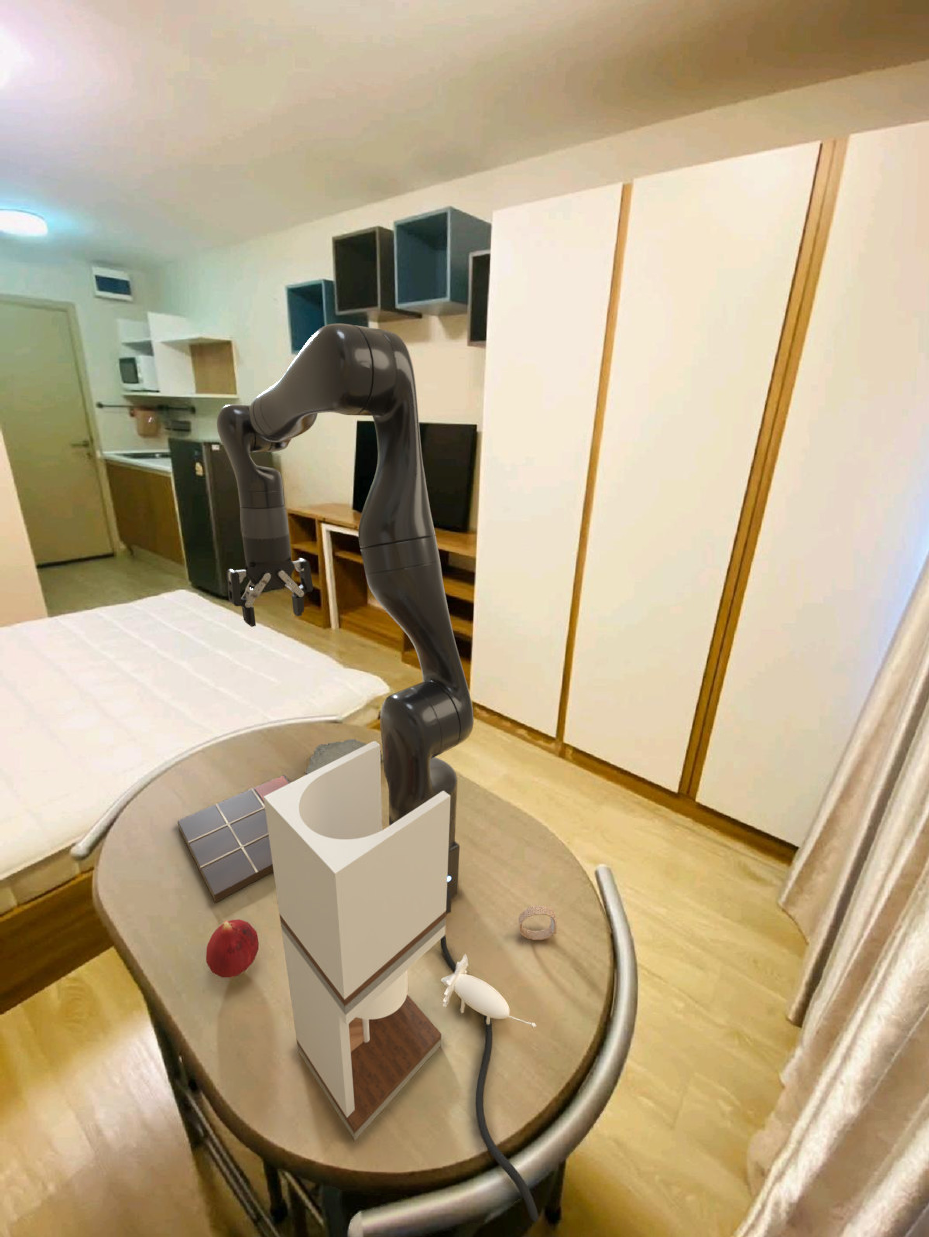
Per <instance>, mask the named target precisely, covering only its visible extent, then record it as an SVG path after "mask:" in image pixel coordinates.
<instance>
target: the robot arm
mask: <svg viewBox="0 0 929 1237" xmlns="http://www.w3.org/2000/svg"><path fill="white" fill-rule="evenodd" d="M321 413H323V414H324V413H336V414H339V415H344V416H345V415H346V416H361V417H363V416H364V417H365V416H368V417H369V416H370V417H372V419H373V424H374V427H375V433H376V434H375V435H376V442H377V443H376V444H377V464H376V470H375V474H374V476H373V477H374V478H373V481H372V483H371V485H370V489H369V491H368V494H367V497H366V500H365V503H364V505H363V508H362V511H361V516H360V519H359V524H358V531H357V535H358V544H359V548H360V554H361V559H362V564H363V569H364V573H365V578H366V582H367V585H368V589H369V590H370V592H371V594H372V595H373V597H374V598H375V600H376V601H377V602H378V603H379V605H381V607H382V608H383V610H384V611H385V612H386V613H387V614H388V615H389V616H390V617H391V618H392V620H393V621H394V622H395V623H396V624H397V625H398V626H399V627H400V629H402V631H403V632H404V633H405V634H406V635H407V637H408V638H409V640H410V642H411V643H412V645H413V647H414V650H415V653H416V655H417V658H418V662H419V666H420V669H421V670H420V671H421V675H422V682H419V683H417V684H414V685H412V686H409V687H406V688H404V689H401V690H399V691H396V692H394V693H392V694H390V695H388V696H387V697H386V698H385V699H384V701H383V702H382V704H381V708H380V713H379V714H380V715H379V725H380V726H379V728H380V738H381V749H382V764H383V771H384V775H385V776H384V777H385V780H386V784H387V788H388V827H389V826H390V825H392V824H393V823H395V822H396V821H398V820H399V819H401V818H402V817H404V816H405V815H407V814H408V813H410V812H411V811H413V810H414V809H416V808H417V807H419V806H421V805H422V804H424V803H425V802H427V801H428V800H430V799H431V798H433V797H434V796H436V795H437V794H439V793H440V792H442V791H445V792H446V793H447V794H449V795H450V821H449V847H448V873H447V899H446V915H447V914H451V913H452V899H453V898H454V897H457V895H458V889H459V868H460V866H459V865H460V850H461V848H460V844H459V843H458V842H456V824H457V823H456V822H457V804H458V786H459V785H458V783H459V781H458V776H457V772H456V771H455V769H454V768H453V767H452V766H451V764H449V763H448V762H446V761H445V760H443V759H441V758H439V757H437V756H440V755H442V754H443V753H445V752H447V751H449V750H451V749H454V748H456V747H457V746H458V745H460V744H462V743H464V742H466V740H467V739H468V738H470V735H472V733H473V728H474V708H473V702H472V698H471V693H470V690H469V686H468V682H467V680H466V676H465V671H464V669H463V665H462V664H463V663H462V661H461V657H460V654H459V649H458V647H457V644H456V639H455V635H454V631H453V626H452V621H451V616H450V612H449V611H450V610H449V608H448V607H449V606H448V602H447V596H446V592H445V586H444V579H443V571H442V565H441V564H442V563H441V559H440V558H441V557H440V552H439V547H438V540H437V536H436V531H435V527H434V522H433V517H432V512H431V507H430V501H429V500H430V499H429V494H428V489H427V487H428V486H427V481H426V474H425V468H424V461H423V452H422V443H421V431H420V420H419V407H418V396H417V384H416V376H415V371H414V364H413V361H412V357H411V354H410V351H409V348H408V346H407V345H406V343H405V340H403V338H401V337H400V336H399V335H398V334H397V333H395V332H393V331H389V330H386V329H380V328H374V327H369V326H361V325H356V324H355V325H354V324H349V323H330V324H326V325H324V326H322V327H320V328H319V329H318V330H316V331H315V332H314V334H312V335H311V337H310V338H309V339H308V340H307V341H306V343H305V344H304V345H303V347H302V348H301V350H300V351H299V353H298V354H297V355H296V357H295V358H294V359H293V361H292V362H291V363H290V365H289V367H288V368H287V369H286V371H285V373H284V374H283V375H282V376H281V377H280V379H279V380H278V381H277V382H276V383H274V384H273V385H272V386H270V387H268V388H267V389H266V390H264V391H263V392H261V393H259V394H258V396H256V397H255V398H254V399H253V400H252V402H251V404H225V406H223V407H222V408H220V410H219V412H218V414H217V418H216V429H217V433H218V436H219V439H220V442H221V443H222V446H223V448H224V450H225V453H226V455H227V457H228V460H229V462H230V465H231V468H232V471H233V474H234V476H235V481H236V485H237V487H236V488H237V493H238V500H239V515H240V516H239V517H240V518H239V520H240V533H241V538H242V546H243V553H244V560H245V566H244V569H236V570H235V569H233V568H229V569H227V571H226V579H227V591H228V601H229V602H230V603H231V604H232V605H233V606H235V607H241V612H242V616H243V617H242V619H243V621H244V622H245V623H246V625H248V626H249V627H251V628H253V627H256V626H257V624H256V622H257V621H256V616H255V614H256V613H255V608H254V606H253V605H254V603H255V601H256V599H257V598H259V597H260V596H261V594H262V592H264V591H265V592H270V591H272V590H274V589H275V590H276V589H277V590H278V589H284V586H285V587H286V588H288V589H289V590H290V591H291V592H292V593H293V594H291V601H292V603H291V604H292V612H293V614H294V616H296V617H301V616H302V615H303V613H304V611H305V603H304V601H305V600H304V597H305V596H304V595H305V594H307V593H308V592H309V593H311V592H313V590H314V584H313V579H312V577H313V576H312V572H311V565H310V562H309V560H307V559H305V558H303V557H299V558H298V559H297V560H294V561H292V551H291V549H292V548H291V540H290V529H289V520H288V514H287V510H286V504H285V494H284V492H285V491H284V482H283V478H282V474H281V472H280V471H279V470H277V469H276V468H274V467H268V466H262V465H257V464H256V463H255V462H254V460H253V458H252V457H251V453H273V452H274V453H275V452H279V451H283V450H285V449H287V447H288V446H289V445H290V442H291V441H292V439H294V438H297V437H299V436H301V435H303V434H305V433H306V432H307V431H309V430H310V429H311V428H312V427H313V426H314V424H315V422H316V420H317V418H318V414H321ZM295 570H296V571H297V572H298V574H299V580H300V585H298V584H297V583H296V582H295V581H294V580H293V579H292V578H291V576H292V574H293V572H294V571H295ZM245 577H246V578H247V579H248V580H249V582H248V583H247V585H246V586H245V590H244V593H243V594H241V584H242V583H243V581H244V579H245ZM439 942H440V949H441V952H442V955H443V958H444V960H445V961H446V963H447V965H448V966H449V968H450V970H451V971H452V972H453V974H454V973H455V970H456V965H457V963H455V961H454V959H453V958H452V956H451V954H450V951H449V950H448V944H447V935H446V934H445V935H444V936H443V937H442V938H441V939H440V940H439ZM481 1015H482V1017H483V1023H484V1031H485V1037H484V1038H485V1039H484V1048H483V1053H482V1058H481V1062H480V1067H479V1072H478V1076H477V1083H476V1089H475V1115H476V1121H477V1126H478V1130H479V1133H480V1136H481V1139H482V1141H483V1144H484V1145H485V1147H486V1148H487V1150H488V1152H489V1154H490V1155H491V1156H492V1157H493V1159H494V1160H495V1162H497V1164H498V1165H499V1166H500V1167H501V1168H502V1170H503V1171H504V1172H505V1173H506V1175H508V1177H509V1178H510V1179H511V1180H512V1182H513V1183H514V1184H515V1186H516V1188H517V1189H518V1191H519V1193H520V1195H521V1196H522V1198H523V1201H524V1203H525V1206H526V1209H527V1212H528V1215H529V1218H530V1219H531V1220H532V1222H535V1223H536V1222H538V1220H539V1213H538V1209H537V1206H536V1203H535V1200H534V1197H533V1195H532V1193H531V1191H530V1189H529V1186H528V1185H527V1182H525V1179H524V1178H523V1176H522V1175H521V1173H519V1171H518V1170H517V1168H515V1166H514V1165H513V1164H512V1163H511V1161H510V1160H509V1159H507V1157H506V1156H505V1155H504V1154H503V1152H502V1151H501V1150H500V1149H499V1148H498V1146H497V1145H496V1143H495V1142H494V1139H493V1138H492V1136H491V1134H490V1132H489V1129H488V1126H487V1122H486V1117H485V1110H484V1092H485V1084H486V1079H487V1073H488V1068H489V1064H490V1059H491V1055H492V1054H491V1053H492V1047H493V1024H492V1020H491V1019H492V1018H490V1024H489V1025H487V1024H486V1020H487V1016H485V1015H483V1014H481Z"/></svg>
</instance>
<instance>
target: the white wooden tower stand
mask: <svg viewBox="0 0 929 1237" xmlns="http://www.w3.org/2000/svg"><path fill="white" fill-rule="evenodd" d="M366 744H367V745H365V746H363V747H361V748H359V749H357V750H355V751H353V752H351V753H349V754H347V755H345V756H343V757H341V758H339V759H337V760H335V761H333V762H331V763H329V764H327V765H325V766H323V767H321V768H319V769H317V770H315V771H313V772H311V773H309V774H307V775H306V774H305V775H303V776H302V777H299V778H298V779H295V780H294V781H292V782H290V784H288V785H286V786H284V787H282V788H280V789H278V790H276V791H274V792H272V793H270V794H268V795H266V796H264V804H265V811H266V819H267V826H268V833H269V841H270V848H271V856H272V863H273V870H274V871H273V877H274V884H275V891H276V892H275V893H276V898H277V899H276V900H277V906H278V913H279V914H278V915H279V921H280V928H281V935H282V942H283V943H282V944H283V950H284V958H285V964H286V965H285V966H286V973H287V979H288V988H289V995H290V1002H291V1010H292V1017H293V1018H292V1019H293V1024H294V1031H295V1039H296V1047H297V1051H298V1053H299V1054H300V1056H301V1057H302V1059H303V1060H304V1063H305V1064H306V1065H307V1067H308V1069H309V1071H310V1072H311V1073H312V1075H313V1077H314V1078H315V1080H316V1081H317V1083H318V1084H319V1086H320V1088H321V1089H322V1091H323V1092H324V1094H325V1096H326V1097H327V1098H328V1100H329V1102H330V1104H331V1105H332V1107H333V1108H334V1109H335V1112H336V1113H337V1114H338V1116H339V1118H340V1120H341V1121H342V1122H343V1124H344V1126H345V1128H346V1129H347V1130H348V1132H349V1134H350V1135H351V1137H352V1138H353V1140H354V1141H357V1139H358V1138H359V1137H360V1136H361V1135H362V1134H363V1132H364V1131H365V1130H366V1129H367V1128H368V1127H369V1126H370V1125H371V1123H372V1122H373V1121H374V1120H375V1119H376V1118H377V1117H378V1116H379V1115H380V1113H381V1112H382V1111H383V1110H384V1109H385V1108H386V1107H387V1106H388V1105H389V1104H390V1103H391V1101H393V1100H394V1098H395V1097H396V1096H397V1095H398V1093H400V1091H401V1090H402V1089H403V1088H404V1087H405V1086H406V1085H407V1084H408V1083H409V1081H410V1080H412V1078H413V1077H414V1076H415V1075H416V1074H417V1072H418V1071H419V1070H421V1068H422V1067H423V1066H424V1064H426V1062H427V1061H428V1060H429V1059H430V1058H431V1057H432V1056H433V1055H434V1053H435V1052H437V1050H438V1049H439V1048H440V1047H441V1046H442V1033H441V1032H440V1030H439V1029H438V1028H437V1027H436V1026H435V1024H434V1023H433V1022H432V1021H431V1020H430V1019H429V1017H427V1015H425V1013H424V1012H423V1010H422V1009H421V1008H419V1006H418V1005H417V1004H416V1002H414V1000H413V999H412V998H411V997H410V996H409V995H408V993H409V992H408V990H409V988H408V987H409V986H408V985H409V984H408V983H409V980H408V979H409V978H408V976H409V975H408V974H409V972H408V971H409V969H410V968H411V967H412V966H413V965H414V964H415V963H416V962H418V961H419V960H420V959H421V958H422V957H423V956H424V955H425V954H426V953H427V952H429V950H431V948H433V947H434V946H435V945H436V944H437V943H438V942H440V939H441V938H442V937H443V936H444V935H445V936H446V924H447V923H446V922H447V914H446V899H447V873H448V847H449V821H450V795H449V794H447V793H446V792H445V791H442V792H440V793H439V794H437V795H436V796H434V797H433V798H431V799H430V800H428V801H427V802H425V803H424V804H422V805H421V806H419V807H417V808H416V809H414V810H413V811H411V812H410V813H408V814H407V815H405V816H404V817H402V818H401V819H399V820H398V821H396V822H395V823H393V824H392V825H390V826H389V825H388V826H387V827H385V828H384V829H383V808H382V805H383V803H382V802H383V801H382V769H381V768H382V767H381V766H382V765H381V763H382V761H381V762H380V750H381V744H380V743H379V742H378V741H376V740H373V741H371V742H369V743H366Z"/></svg>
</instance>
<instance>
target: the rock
mask: <svg viewBox="0 0 929 1237" xmlns="http://www.w3.org/2000/svg"><path fill="white" fill-rule="evenodd" d="M367 744H368V743H366V742H362V741H360V740H357V739H355V738H351V739H346V740H344V741H334V742H328V743H321V744H319V745H317V746H316V747H315V748H314V751H313V755H312V756H311V757H310V759H309V765H308V766H307V768H306V771H305V775H307V774H309V773H311V772H313V771H315V770H317V769H319V768H321V767H323V766H325V765H327V764H329V763H331V762H333V761H335V760H337V759H339V758H341V757H343V756H345V755H347V754H349V753H351V752H353V751H355V750H357V749H359V748H361V747H363V746H365V745H367ZM381 752H382V751H381V749H380V762H381V763H382V762H383V754H381Z"/></svg>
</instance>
